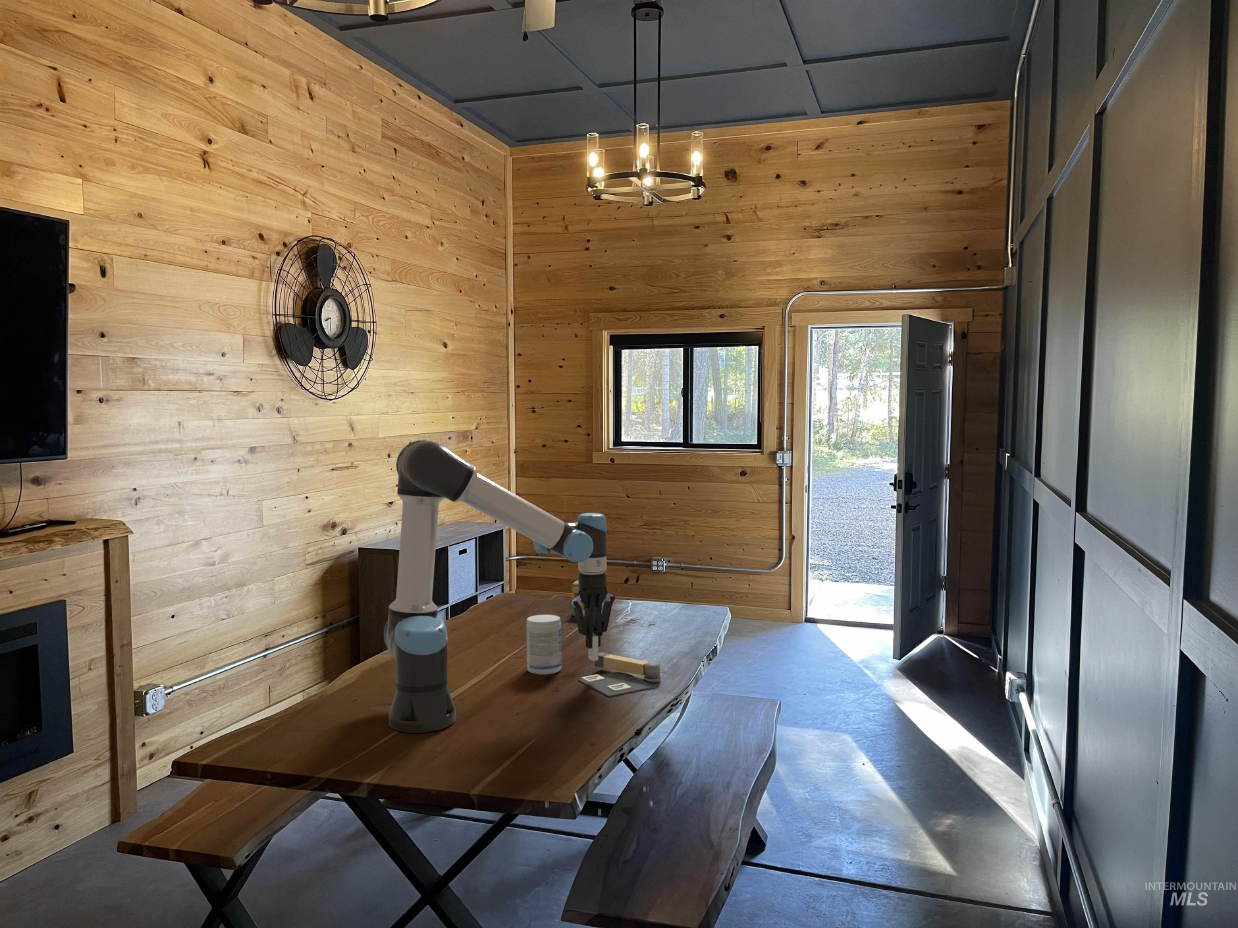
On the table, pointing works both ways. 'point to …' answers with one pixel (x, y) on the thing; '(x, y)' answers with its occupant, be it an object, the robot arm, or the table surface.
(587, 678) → the label
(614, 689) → the label
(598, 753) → the table surface
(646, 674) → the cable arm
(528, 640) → the supplement tub
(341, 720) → the table surface
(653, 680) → the pivot post
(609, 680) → the mat
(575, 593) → the chalk box
